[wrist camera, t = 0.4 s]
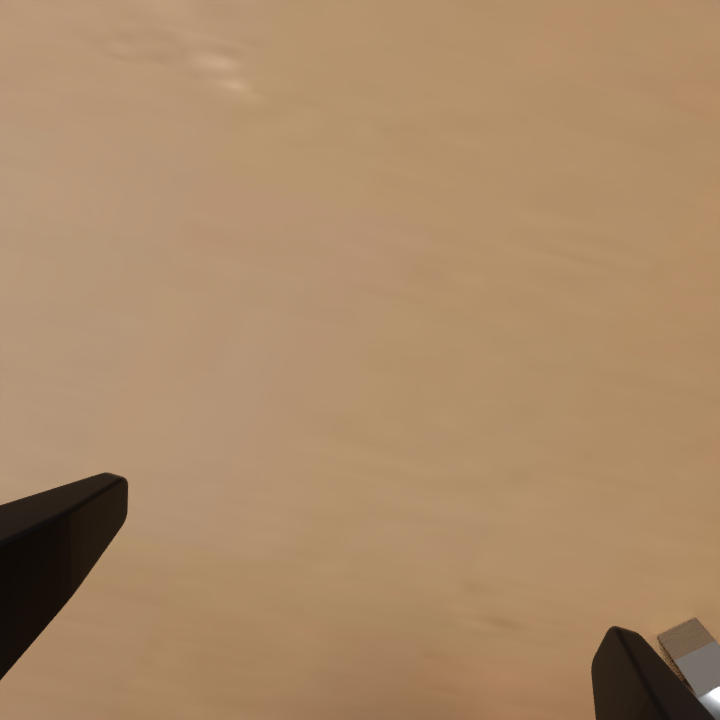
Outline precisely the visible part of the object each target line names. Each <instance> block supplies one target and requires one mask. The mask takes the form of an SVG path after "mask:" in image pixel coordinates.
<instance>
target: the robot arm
mask: <svg viewBox="0 0 720 720" xmlns="http://www.w3.org/2000/svg"><path fill="white" fill-rule="evenodd" d="M127 509H128V482H127V480H126V478H124V477H122V476H118V475H115V474H112V473H101V474H98V475H95V476H92V477H89V478H85V479H82V480H79V481H76V482H73V483H70V484H66V485H63V486H60V487H57V488H54V489H51V490H47V491H44V492H41V493H38V494H35V495H32V496H28V497H25V498H22V499H19V500H16V501H13V502H9V503H6V504H3V505H0V680H1V679H2V678H3V677H4V675H5V674H6V673H7V672H8V671H9V670H10V668H11V667H12V666H13V665H14V664H15V663H16V662H17V660H18V659H19V658H20V657H21V656H22V655H23V653H24V652H25V651H26V650H27V649H28V648H29V646H30V645H31V644H32V643H33V642H34V641H35V639H36V638H37V637H38V636H39V635H40V634H41V632H42V631H43V630H44V629H45V628H46V627H47V625H48V624H49V623H50V622H51V621H52V620H53V618H54V617H55V616H56V615H57V614H58V613H59V611H60V610H61V609H62V608H63V607H64V605H65V604H66V603H67V602H68V601H69V599H70V598H71V597H72V596H73V594H74V593H75V592H76V590H77V589H78V588H79V586H80V585H81V584H82V582H83V581H84V579H85V578H86V577H87V575H88V574H89V572H90V571H91V569H92V568H93V567H94V565H95V564H96V562H97V561H98V560H99V558H100V557H101V555H102V554H103V552H104V551H105V550H106V548H107V547H108V545H109V544H110V543H111V541H112V540H113V538H114V537H115V535H116V534H117V533H118V531H119V530H120V528H121V527H122V525H123V524H124V522H125V519H126V516H127ZM591 674H592V685H593V695H594V705H595V715H596V720H716V719H715V718H714V717H713V715H712V714H711V713H710V712H709V711H708V710H707V709H706V708H705V707H704V705H703V704H702V703H701V702H700V701H699V700H698V699H697V698H696V696H695V695H694V694H693V693H692V692H691V691H690V690H689V689H688V688H687V686H686V685H685V684H684V683H683V682H682V681H681V680H680V679H679V677H678V676H677V675H676V674H675V673H674V672H673V671H672V670H671V669H670V667H669V666H668V665H667V664H666V663H665V662H664V661H663V660H662V658H661V657H660V656H659V655H658V654H657V653H656V652H655V651H654V649H653V648H652V647H651V646H650V645H649V644H648V643H647V642H646V641H645V639H644V638H643V637H642V636H641V635H640V634H638V633H636V632H634V631H631V630H628V629H624V628H621V627H618V626H612V627H611V628H609V630H608V631H607V633H606V635H605V637H604V639H603V641H602V642H601V644H600V646H599V648H598V650H597V652H596V654H595V656H594V658H593V662H592V668H591Z"/></svg>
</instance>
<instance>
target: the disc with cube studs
mask: <svg viewBox="0 0 720 720" xmlns="http://www.w3.org/2000/svg"><path fill="white" fill-rule="evenodd" d="M657 637H658V638H659V640H660V641H661V643H662V645H663V646H664V648H665V649H666V651H667V652H668V654H669V655H670V657H671V658H672V660H673V661H674V663H675V664H676V666H677V667H678V669H679V670H680V672H681V673H682V675H683V676H684V678H685V679H686V680H684V681H683V683H684V684H685V685H686V686H687V688H688V689H689V690H690V691H691V692H692V693H693V694H694V695H695V696H696V698H697V699H698V700H699V701H700V702H701V703H702V704H703V705H704V707H705V708H706V709H707V710H708V711H709V712H710V713H711V714H712V715H713V717H714V718H715V719H716V720H720V646H719V644H718V643H717V641H716V640H715V639H714V638H713V637H712V635H711V634H710V633H709V632H708V631H707V630H706V629H705V627H704V626H703V625H702V624H701V623H700V622H699V621H698V619H697V618H694V619H692V620H690V621H688V622H686V623H684V624H681V625H679V626H677V627H675V628H673V629H671V630H669V631H667V632H665V633H663V634H661V635H659V636H657Z"/></svg>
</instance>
